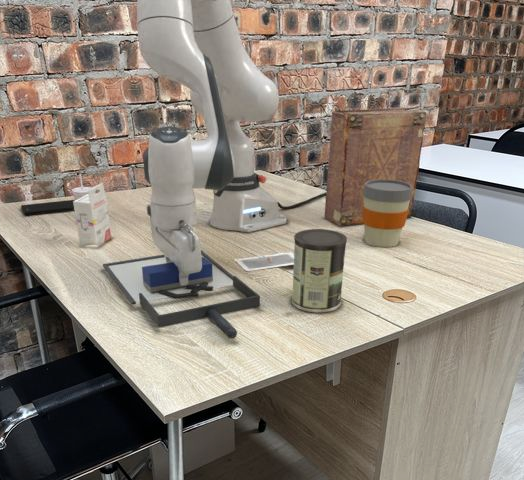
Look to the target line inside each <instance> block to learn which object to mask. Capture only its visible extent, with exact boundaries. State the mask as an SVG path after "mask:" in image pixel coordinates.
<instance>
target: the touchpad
mask: <svg viewBox="0 0 524 480" xmlns="http://www.w3.org/2000/svg"><path fill="white" fill-rule="evenodd" d="M234 261H235V262H236V263H237V264H238V265H239V266H240V267H241V268H242V269H243V270H244V271H245V272H252V271H259V270H265V269H273V268H279V267H280V268H281V267H289V266H294V253H293V252H292V251H289V252H288V251H287V252H280V253H273V254H267V255H266V254H265V255H259V256H251V257H244V258H236V259H234Z"/></svg>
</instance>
